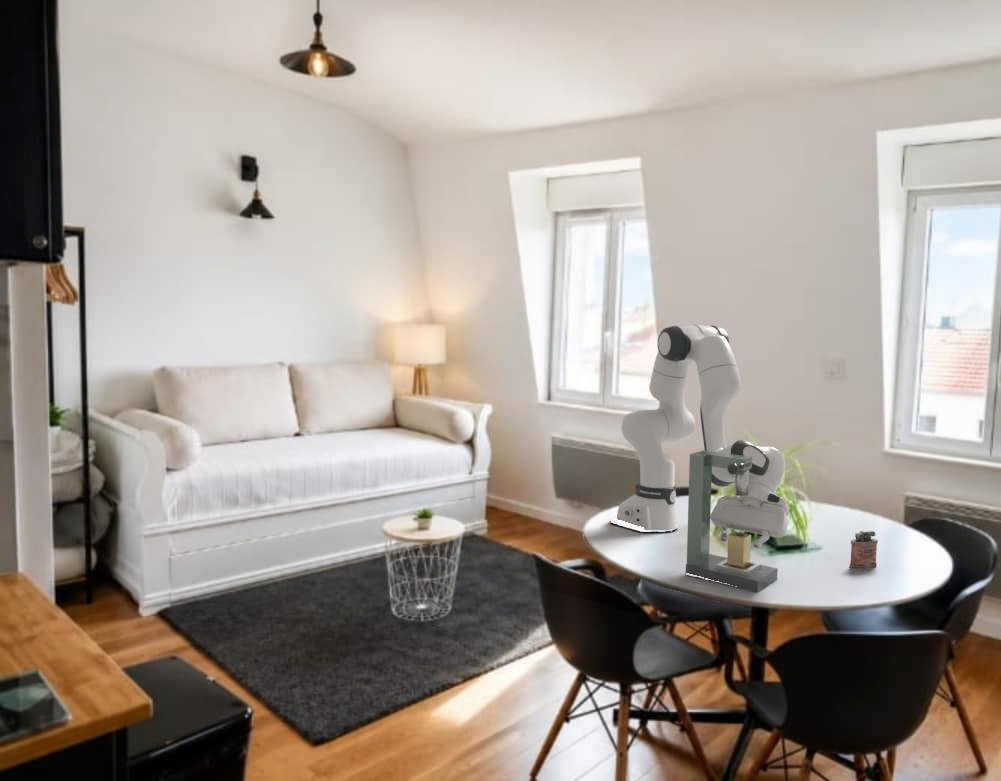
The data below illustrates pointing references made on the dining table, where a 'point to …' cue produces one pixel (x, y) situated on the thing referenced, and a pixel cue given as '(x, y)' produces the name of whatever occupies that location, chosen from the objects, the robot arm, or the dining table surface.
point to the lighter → (863, 550)
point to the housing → (739, 550)
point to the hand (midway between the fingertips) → (739, 543)
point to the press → (700, 522)
